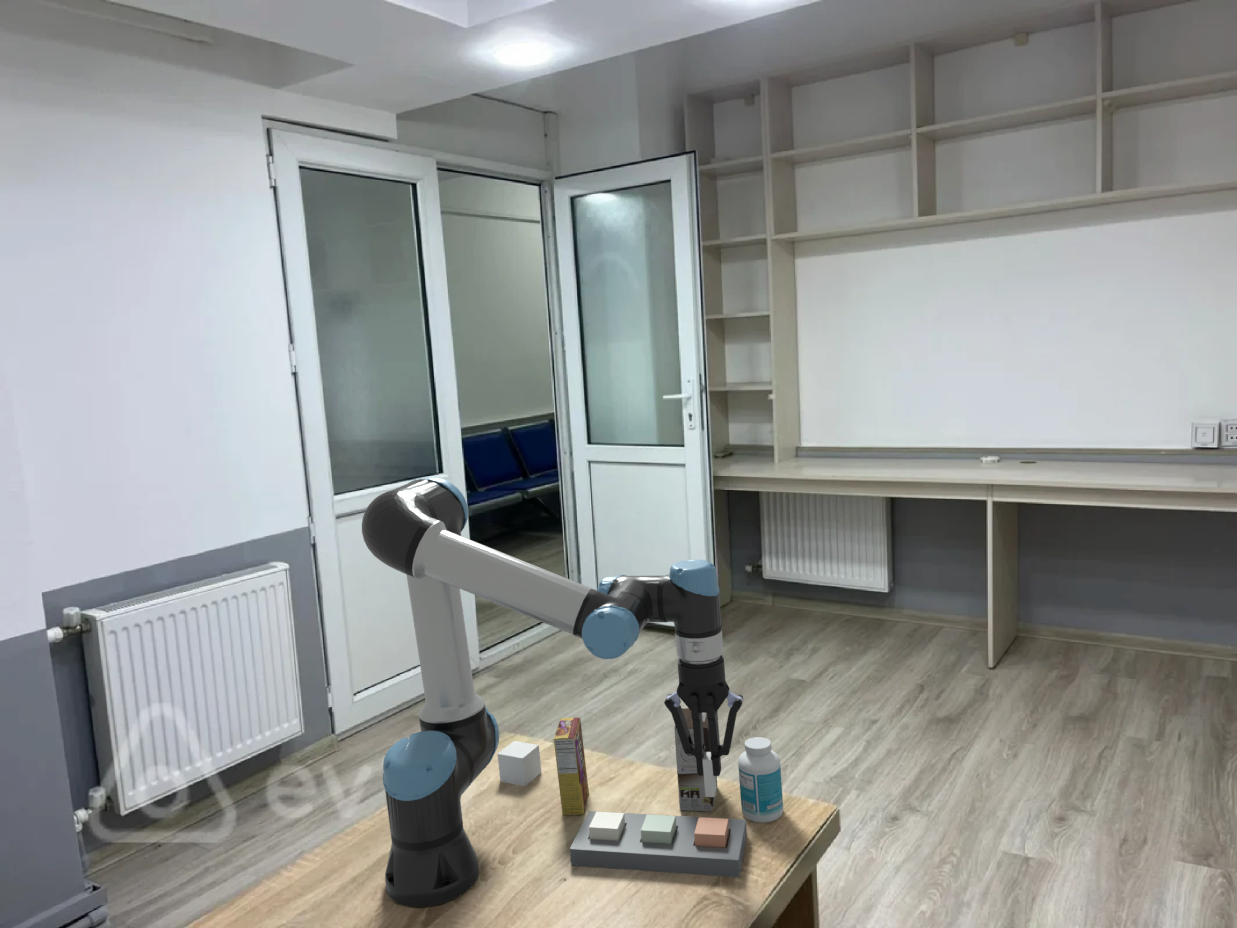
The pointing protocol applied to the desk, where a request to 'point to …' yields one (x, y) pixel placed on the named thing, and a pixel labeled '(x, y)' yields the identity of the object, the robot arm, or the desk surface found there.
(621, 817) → the cream key
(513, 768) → the white cube
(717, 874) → the keypad
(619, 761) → the desk surface
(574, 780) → the candy box
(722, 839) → the terracotta key
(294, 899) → the desk surface
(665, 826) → the sage key
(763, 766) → the pill bottle
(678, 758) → the coffee box
